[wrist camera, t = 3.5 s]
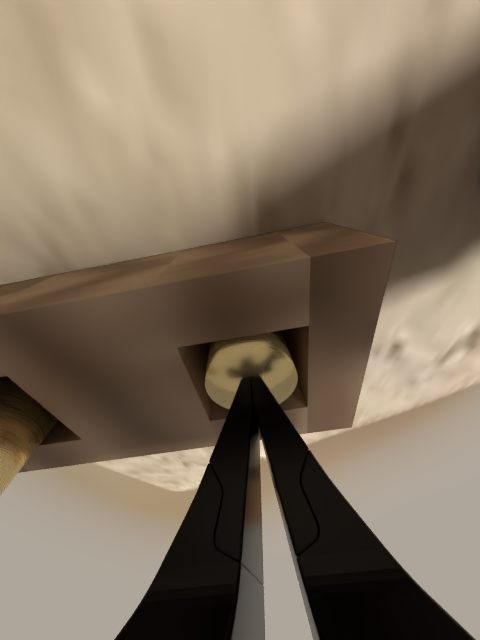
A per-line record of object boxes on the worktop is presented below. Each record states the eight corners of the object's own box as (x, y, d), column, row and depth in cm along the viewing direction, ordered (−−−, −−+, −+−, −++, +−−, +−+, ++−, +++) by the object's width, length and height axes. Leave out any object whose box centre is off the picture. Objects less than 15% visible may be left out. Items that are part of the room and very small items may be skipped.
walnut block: (325, 222, 10) (396, 241, 6) (317, 363, 15) (351, 427, 11) (-65, 297, 11) (-246, 360, 7) (53, 404, 16) (-8, 476, 12)
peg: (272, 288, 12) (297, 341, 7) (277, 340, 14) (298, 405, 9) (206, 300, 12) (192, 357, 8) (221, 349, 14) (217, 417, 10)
